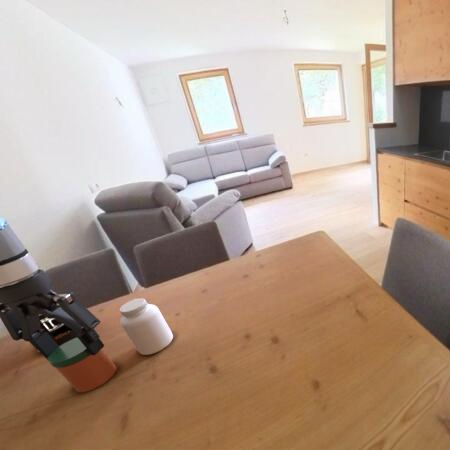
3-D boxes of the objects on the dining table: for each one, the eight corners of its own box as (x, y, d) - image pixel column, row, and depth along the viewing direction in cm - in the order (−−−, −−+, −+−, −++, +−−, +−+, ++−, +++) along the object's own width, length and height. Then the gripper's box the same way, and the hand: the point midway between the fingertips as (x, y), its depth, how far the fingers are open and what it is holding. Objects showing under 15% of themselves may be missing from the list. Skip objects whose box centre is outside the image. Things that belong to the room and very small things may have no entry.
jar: (66, 394, 67) (39, 365, 63) (93, 366, 74) (70, 338, 69) (100, 389, 68) (76, 360, 63) (124, 362, 75) (103, 334, 70)
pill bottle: (143, 361, 75) (116, 320, 68) (136, 346, 79) (109, 307, 73) (178, 341, 80) (155, 301, 74) (168, 329, 85) (146, 290, 78)
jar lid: (41, 370, 63) (36, 364, 62) (73, 342, 70) (69, 337, 69) (79, 365, 64) (75, 359, 63) (107, 337, 71) (103, 332, 70)
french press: (81, 342, 82) (31, 279, 72) (33, 361, 76) (-29, 296, 66) (86, 320, 90) (42, 261, 80) (43, 336, 85) (-10, 275, 74)
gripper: (87, 261, 61) (136, 334, 71) (-22, 273, 59) (44, 346, 69) (53, 282, 55) (113, 360, 65) (-71, 296, 53) (10, 374, 63)
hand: (77, 353), depth 67 cm, fingers open, 9 cm apart
